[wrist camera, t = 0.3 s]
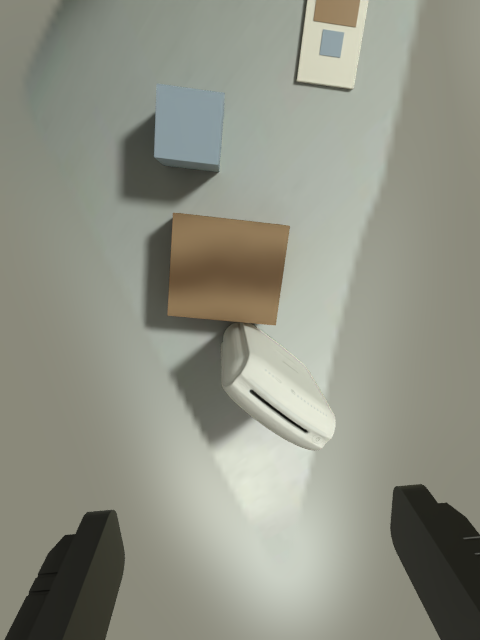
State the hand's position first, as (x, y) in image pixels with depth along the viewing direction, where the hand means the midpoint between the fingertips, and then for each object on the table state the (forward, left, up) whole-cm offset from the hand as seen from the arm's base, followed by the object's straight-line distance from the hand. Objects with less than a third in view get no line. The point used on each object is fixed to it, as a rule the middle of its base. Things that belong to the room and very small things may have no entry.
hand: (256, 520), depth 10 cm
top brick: (-15, -5, -27) cm, 31 cm away
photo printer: (+5, +4, -27) cm, 28 cm away
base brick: (-4, -1, -27) cm, 28 cm away
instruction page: (-25, +6, -27) cm, 37 cm away
